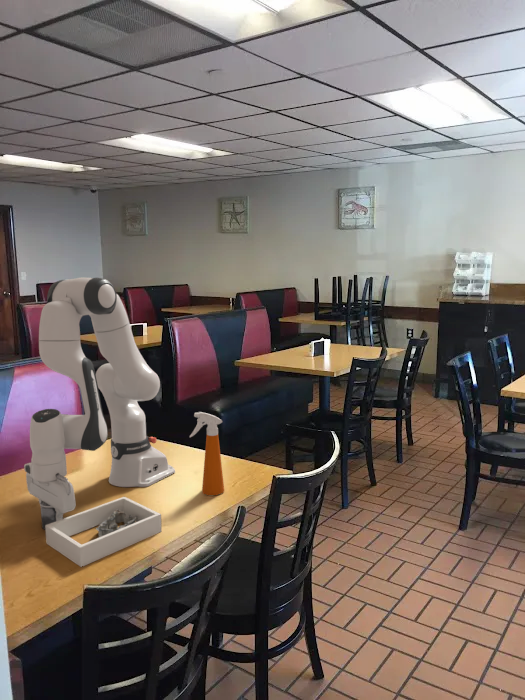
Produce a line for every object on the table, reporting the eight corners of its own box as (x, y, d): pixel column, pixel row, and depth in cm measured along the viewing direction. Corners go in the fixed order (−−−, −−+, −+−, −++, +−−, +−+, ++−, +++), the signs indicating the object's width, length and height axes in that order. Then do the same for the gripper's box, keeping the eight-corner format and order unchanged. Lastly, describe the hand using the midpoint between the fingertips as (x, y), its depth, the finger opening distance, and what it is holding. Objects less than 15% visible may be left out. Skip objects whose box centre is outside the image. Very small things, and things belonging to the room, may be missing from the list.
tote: (124, 512, 163) (124, 496, 162) (161, 531, 152) (161, 514, 151) (46, 543, 145) (45, 525, 145) (81, 567, 134) (80, 547, 133)
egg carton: (119, 521, 158) (118, 507, 158) (140, 526, 155) (140, 512, 155) (93, 537, 149) (92, 523, 148) (115, 543, 146) (114, 528, 145)
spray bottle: (188, 490, 179) (186, 410, 175) (220, 485, 183) (220, 407, 178) (193, 499, 172) (191, 416, 168) (227, 494, 176) (226, 412, 172)
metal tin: (57, 518, 159) (56, 495, 158) (67, 525, 155) (66, 501, 154) (37, 526, 155) (36, 502, 154) (48, 532, 151) (46, 508, 150)
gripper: (80, 476, 148) (82, 525, 150) (42, 458, 161) (45, 503, 164) (57, 483, 143) (60, 533, 146) (20, 463, 157) (24, 510, 159)
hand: (52, 517), depth 155 cm, fingers closed on metal tin, 6 cm apart
